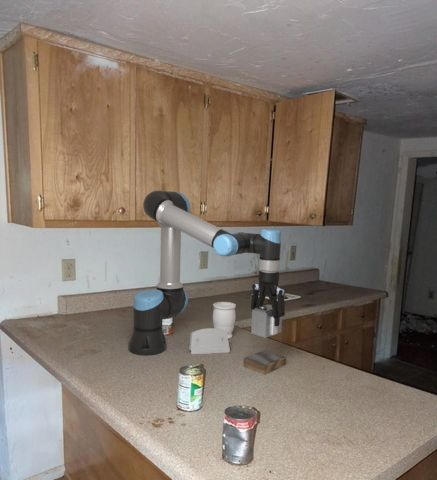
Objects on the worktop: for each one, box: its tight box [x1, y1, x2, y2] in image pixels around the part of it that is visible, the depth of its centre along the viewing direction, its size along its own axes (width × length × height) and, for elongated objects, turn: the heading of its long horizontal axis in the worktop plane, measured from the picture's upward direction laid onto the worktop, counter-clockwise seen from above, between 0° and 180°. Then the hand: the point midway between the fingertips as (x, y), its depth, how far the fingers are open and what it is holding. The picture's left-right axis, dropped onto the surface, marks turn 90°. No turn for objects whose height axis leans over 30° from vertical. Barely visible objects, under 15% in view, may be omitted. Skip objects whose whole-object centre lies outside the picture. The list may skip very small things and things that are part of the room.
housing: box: [250, 304, 283, 339], centre depth 143 cm, size 6×10×11 cm, turn 136°
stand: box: [242, 349, 287, 376], centre depth 144 cm, size 13×10×3 cm
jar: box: [212, 301, 237, 340], centre depth 175 cm, size 11×10×15 cm
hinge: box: [188, 327, 231, 355], centre depth 158 cm, size 17×5×10 cm, turn 102°
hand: (266, 331), depth 143 cm, fingers closed on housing, 6 cm apart
